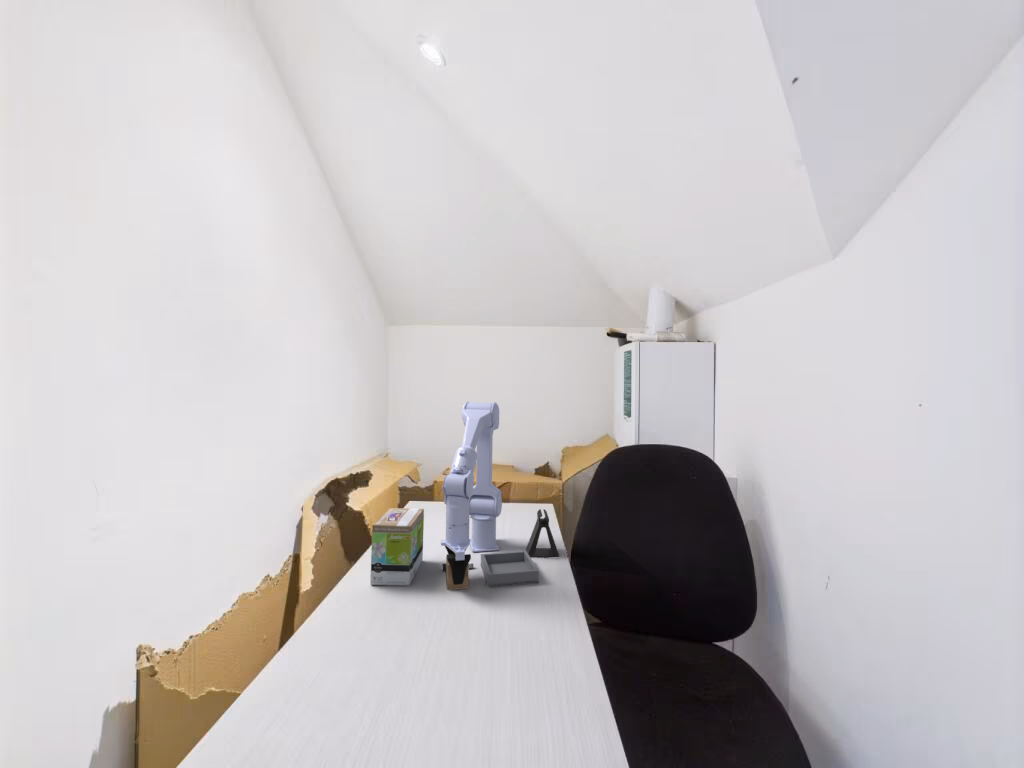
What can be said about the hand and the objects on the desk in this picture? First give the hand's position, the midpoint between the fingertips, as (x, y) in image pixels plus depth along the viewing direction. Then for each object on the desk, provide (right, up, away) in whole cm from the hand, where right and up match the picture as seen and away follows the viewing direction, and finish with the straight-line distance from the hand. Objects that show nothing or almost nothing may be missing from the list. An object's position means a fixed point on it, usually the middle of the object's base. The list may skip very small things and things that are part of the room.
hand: (457, 578), depth 103 cm
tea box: (-16, -2, +6) cm, 17 cm away
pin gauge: (-1, -1, +8) cm, 8 cm away
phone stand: (+22, -2, +19) cm, 30 cm away
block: (0, -2, 0) cm, 2 cm away
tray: (+13, -2, +6) cm, 14 cm away
